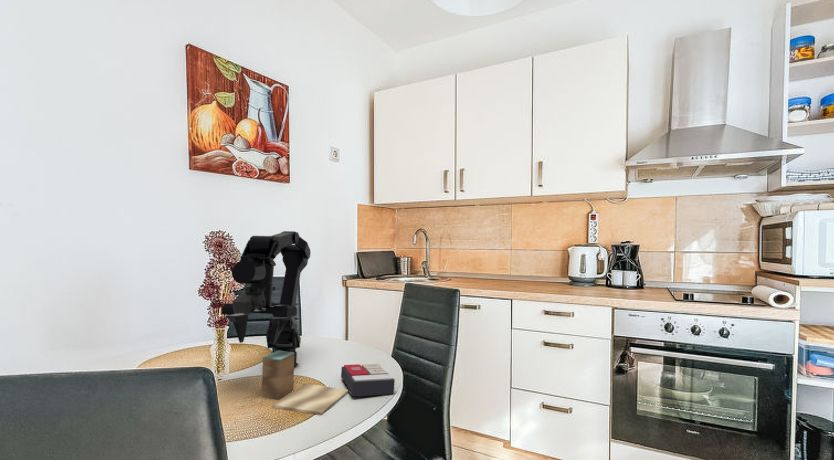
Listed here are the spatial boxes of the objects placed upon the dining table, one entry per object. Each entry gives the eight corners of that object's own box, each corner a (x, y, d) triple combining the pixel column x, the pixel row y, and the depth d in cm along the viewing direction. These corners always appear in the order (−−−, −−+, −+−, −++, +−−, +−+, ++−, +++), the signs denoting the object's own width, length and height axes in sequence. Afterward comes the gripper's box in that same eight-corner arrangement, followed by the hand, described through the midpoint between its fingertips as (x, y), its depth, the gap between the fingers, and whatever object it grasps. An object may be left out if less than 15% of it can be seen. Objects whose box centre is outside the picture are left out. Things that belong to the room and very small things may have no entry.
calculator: (378, 362, 113) (395, 376, 100) (377, 377, 113) (394, 393, 99) (341, 363, 109) (353, 378, 95) (340, 379, 109) (352, 396, 95)
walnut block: (261, 397, 96) (262, 357, 96) (276, 388, 101) (277, 350, 102) (278, 400, 94) (280, 359, 94) (293, 391, 100) (294, 352, 100)
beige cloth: (272, 407, 90) (272, 404, 90) (305, 385, 104) (305, 383, 104) (321, 415, 86) (321, 412, 87) (349, 392, 100) (349, 389, 100)
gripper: (208, 282, 95) (203, 347, 94) (276, 284, 92) (272, 352, 90) (237, 281, 106) (233, 339, 105) (299, 283, 103) (296, 343, 101)
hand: (257, 343), depth 100 cm, fingers open, 9 cm apart
